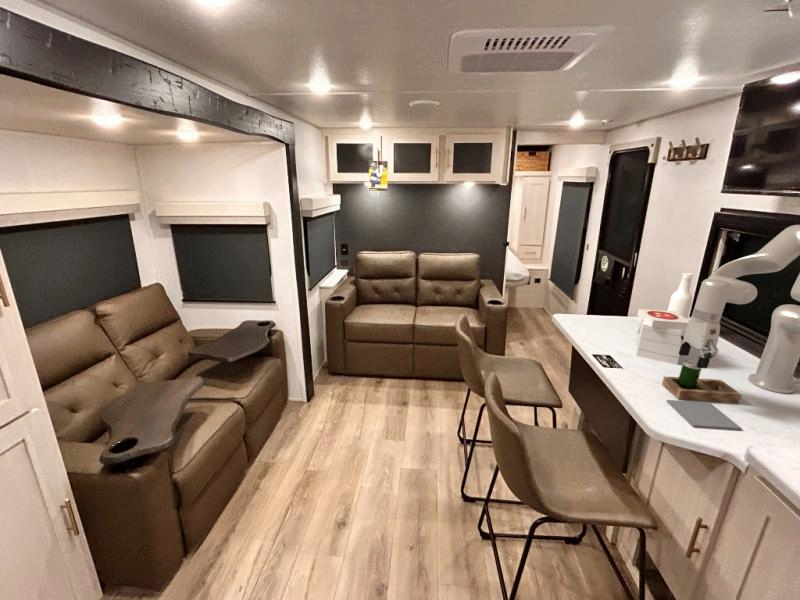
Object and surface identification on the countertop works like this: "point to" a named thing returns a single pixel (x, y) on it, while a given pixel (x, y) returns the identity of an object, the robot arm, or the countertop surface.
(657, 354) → the pizza boxes
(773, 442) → the countertop surface
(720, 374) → the countertop surface
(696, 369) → the beer can
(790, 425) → the countertop surface
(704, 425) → the rubber mat
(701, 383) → the can holder
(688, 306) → the alcohol
